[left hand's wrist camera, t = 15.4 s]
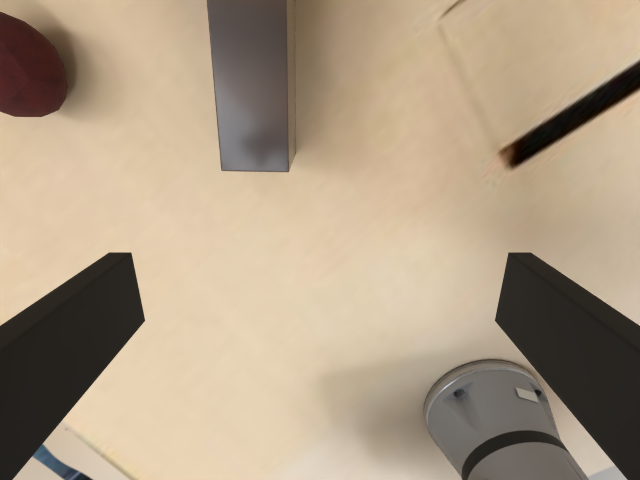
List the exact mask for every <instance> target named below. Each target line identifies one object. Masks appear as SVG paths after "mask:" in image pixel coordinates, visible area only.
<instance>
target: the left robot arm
mask: <svg viewBox="0 0 640 480" xmlns="http://www.w3.org/2000/svg"><path fill="white" fill-rule="evenodd" d="M144 321H145V318H144V313H143V308H142V303H141V298H140V293H139V288H138V283H137V278H136V273H135V268H134V263H133V259H132V254H131V253H108V254H106V255H105V256H104V257H102V258H101V259H99V260H98V261H96V262H95V263H93V264H92V265H90V266H89V267H87V268H86V269H84V270H83V271H81V272H80V273H78V274H77V275H75V276H74V277H72V278H71V279H69V280H68V281H66V282H65V283H63V284H62V285H60V286H59V287H57V288H56V289H54V290H53V291H51V292H50V293H49V294H47V295H46V296H44V297H43V298H41V299H40V300H38V301H37V302H35V303H34V304H32V305H31V306H29V307H28V308H26V309H25V310H23V311H22V312H20V313H19V314H17V315H16V316H14V317H13V318H11V319H10V320H8V321H7V322H5V323H4V324H2V325H1V326H0V480H12V479H13V478H14V477H15V476H16V475H17V473H18V472H19V471H20V470H21V469H22V468H23V466H24V465H25V464H26V463H27V462H28V460H29V459H30V458H31V457H32V456H33V454H34V453H35V452H36V451H37V450H38V448H39V447H40V446H41V445H42V444H43V442H44V441H45V440H46V439H47V438H48V436H49V435H50V434H51V433H52V432H53V430H54V429H55V428H56V427H57V426H58V424H59V423H60V422H61V421H62V420H63V418H64V417H65V416H66V415H67V414H68V412H69V411H70V410H71V409H72V408H73V406H74V405H75V404H76V403H77V402H78V400H79V399H80V398H81V397H82V396H83V394H84V393H85V392H86V391H87V390H88V388H89V387H90V386H91V385H92V384H93V382H94V381H95V380H96V379H97V378H98V376H99V375H100V374H101V373H102V372H103V370H104V369H105V368H106V367H107V366H108V364H109V363H110V362H111V361H112V360H113V358H114V357H115V356H116V355H117V354H118V352H119V351H120V350H121V349H122V348H123V346H124V345H125V344H126V343H127V342H128V340H129V339H130V338H131V337H132V336H133V334H134V333H135V332H136V331H137V330H138V328H139V327H140V326H141V325H142V324H143V322H144ZM495 321H496V322H497V324H498V325H499V326H500V327H501V328H502V330H503V331H504V332H505V333H506V334H507V336H508V337H509V338H510V339H511V340H512V342H513V343H514V344H515V345H516V346H517V348H518V349H519V350H520V351H521V352H522V354H523V355H524V356H525V357H526V358H527V360H528V361H529V362H530V363H531V364H532V366H533V367H534V368H535V369H536V370H537V372H538V373H539V374H540V375H541V376H542V378H543V379H544V380H545V381H546V382H547V384H548V385H549V386H550V387H551V388H552V390H553V391H554V392H555V393H556V394H557V396H558V397H559V398H560V399H561V400H562V402H563V403H564V404H565V405H566V406H567V408H568V409H569V410H570V411H571V412H572V414H573V415H574V416H575V417H576V418H577V420H578V421H579V422H580V423H581V424H582V426H583V427H584V428H585V429H586V430H587V432H588V433H589V434H590V435H591V436H592V438H593V439H594V440H595V441H596V442H597V444H598V445H599V446H600V447H601V448H602V450H603V451H604V452H605V453H606V454H607V456H608V457H609V458H610V459H611V460H612V462H613V463H614V464H615V465H616V466H617V468H618V469H619V470H620V471H621V472H622V474H623V475H624V476H625V477H626V478H627V480H640V326H639V325H638V324H636V323H635V322H633V321H632V320H630V319H629V318H627V317H626V316H624V315H623V314H621V313H620V312H618V311H617V310H615V309H614V308H612V307H611V306H609V305H608V304H606V303H605V302H603V301H602V300H600V299H599V298H597V297H596V296H594V295H593V294H591V293H590V292H589V291H587V290H586V289H584V288H583V287H581V286H580V285H578V284H577V283H575V282H574V281H572V280H571V279H569V278H568V277H566V276H565V275H563V274H562V273H560V272H559V271H557V270H556V269H554V268H553V267H551V266H550V265H548V264H547V263H545V262H544V261H542V260H541V259H539V258H538V257H536V256H535V255H534V254H532V253H509V254H508V259H507V263H506V268H505V273H504V278H503V283H502V288H501V293H500V298H499V303H498V308H497V313H496V318H495ZM424 418H425V421H426V424H427V427H428V430H429V433H430V435H431V437H432V438H433V440H434V441H435V443H436V444H437V445H438V447H439V448H440V449H441V451H442V452H443V453H444V455H445V456H446V457H447V459H448V460H449V461H450V463H451V464H452V465H453V466H454V468H455V469H456V470H457V472H458V473H459V474H460V476H461V478H462V480H589V479H588V478H587V476H586V475H585V474H584V472H583V471H582V469H581V468H580V467H579V465H578V464H577V463H576V461H575V460H574V458H573V457H572V456H571V454H570V453H569V452H568V450H567V449H566V447H565V446H564V444H563V443H562V441H561V440H560V437H559V434H558V431H557V428H556V425H555V421H554V418H553V415H552V412H551V409H550V406H549V403H548V400H547V397H546V395H545V393H544V391H543V389H542V387H541V386H540V385H539V383H538V382H537V381H536V380H535V378H534V377H533V376H532V375H531V374H530V373H529V372H528V371H527V370H525V369H524V368H522V367H521V366H518V365H516V364H513V363H510V362H506V361H500V360H485V361H478V362H473V363H469V364H466V365H463V366H461V367H458V368H456V369H454V370H452V371H451V372H449V373H448V374H446V375H445V376H443V377H442V378H441V379H440V380H439V381H438V382H437V383H436V384H435V385H434V386H433V387H432V389H431V390H430V392H429V393H428V395H427V398H426V400H425V404H424Z"/></svg>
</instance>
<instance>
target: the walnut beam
mask: <svg viewBox="0 0 640 480" xmlns="http://www.w3.org/2000/svg"><path fill="white" fill-rule="evenodd" d="M207 8H208V19H209V31H210V43H211V54H212V66H213V78H214V89H215V101H216V113H217V125H218V136H219V148H220V160H221V170H222V171H253V172H289V170H290V167H291V164H292V162H293V159H294V157H295V154H296V123H295V0H207Z"/></svg>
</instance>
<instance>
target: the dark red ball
mask: <svg viewBox="0 0 640 480" xmlns="http://www.w3.org/2000/svg"><path fill="white" fill-rule="evenodd" d="M66 92H67V81H66V75H65V70H64V66H63V63H62V61H61V59H60V57H59V55H58V53H57V51H56V49H55V47H54V46H53V45H52V44H51V43H50V42H49V41H48V40H47V39H46V38H45V37H44V36H43V35H42V34H41V33H40V32H38V31H37V30H36V29H34V28H33V27H31V26H30V25H28V24H27V23H26V22H24V21H21V20H19V19H17V18H14V17H12V16H9V15H7V14H5V13H2V12H0V112H3V113H6V114H9V115H12V116H15V117H42V116H45V115H48V114H50V113H53V112H55V111H57V110H59V108H60V107H61V105H62V104H63V102H64V101H65V98H66Z"/></svg>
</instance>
